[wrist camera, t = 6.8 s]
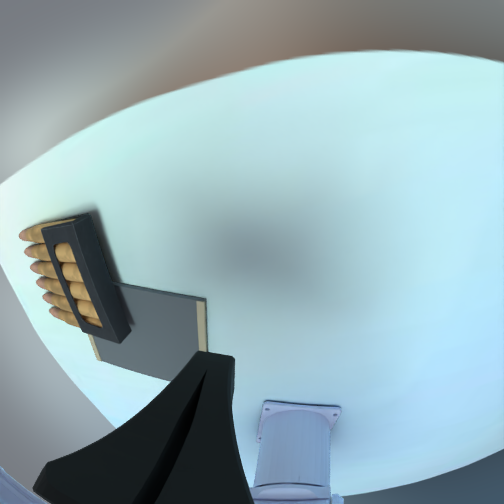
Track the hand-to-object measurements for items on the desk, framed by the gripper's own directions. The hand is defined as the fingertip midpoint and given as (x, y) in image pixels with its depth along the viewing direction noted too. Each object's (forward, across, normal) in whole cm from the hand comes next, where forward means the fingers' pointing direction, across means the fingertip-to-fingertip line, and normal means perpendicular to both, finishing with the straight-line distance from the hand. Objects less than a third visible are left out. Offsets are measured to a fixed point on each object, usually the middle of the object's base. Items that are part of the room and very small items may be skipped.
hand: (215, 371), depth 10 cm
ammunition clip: (+8, +11, +3) cm, 14 cm away
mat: (+10, +10, +10) cm, 17 cm away
